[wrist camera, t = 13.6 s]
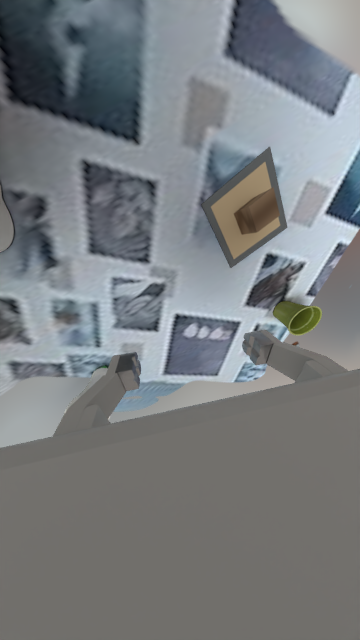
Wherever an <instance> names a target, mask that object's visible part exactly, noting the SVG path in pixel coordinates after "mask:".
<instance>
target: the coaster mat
mask: <svg viewBox="0 0 360 640" xmlns="http://www.w3.org/2000/svg"><path fill="white" fill-rule="evenodd" d="M273 187H274V192H275V196H276V200H277V205H278V209H279V213H280V216H279V217H277V218H276V219H275V220H273V221H272V222H271V223H269V224H268V225H266V226H265V227H264V228H262V229H261V230H260V231H258V232H256V233H250V234H243V235H242V234H241V232H240V229H239V226H238V224H237V221H236V218H235V216H234V213H235V212H236V211H237V210H239V209H240V208H241V207H242V206H244V205H245V204H246V203H247V202H249V201H250V200H251V199H252V198H254V197H256V196H258V195H259V194H261V193H263V192H265V191H267V190H269V189H271V188H273ZM201 205H202V208H203V210H204V212H205V214H206V216H207V218H208V220H209V223H210V225H211V227H212V229H213V231H214V233H215V235H216V238H217V240H218V242H219V244H220V246H221V248H222V250H223V252H224V255H225V257H226V259H227V261H228V263H229V265H230V267H233V266H234V265H236V264H237V263H238V262H240V261H241V260H243V259H244V258H245V257H247V256H248V255H250V254H251V253H252V252H254V251H255V250H257V249H258V248H259V247H261V246H262V245H264V244H265V243H266V242H268V241H269V240H271V239H272V238H273V237H275V236H276V235H278V234H279V233H280V232H282V231H283V230H285V229H286V228H287V224H286V219H285V215H284V210H283V205H282V200H281V196H280V191H279V186H278V182H277V177H276V172H275V168H274V163H273V158H272V153H271V149H270V147H269V148H267V149H266V150H265V151H264V152H263V153H262V154H260V155H259V156H258V157H257V158H256V159H254V160H253V161H252V162H251V163H250V164H249V165H247V166H246V167H245V168H244V169H243V170H241V171H240V172H239V173H238V174H237V175H236V176H234V177H233V178H232V179H231V180H230V181H228V182H227V183H226V184H225V185H224V186H223V187H221V188H220V189H219V190H218V191H217V192H215V193H214V194H213V195H212V196H211V197H210V198H208V199H207V200H206V201H205V202H204V203H202V204H201Z"/></svg>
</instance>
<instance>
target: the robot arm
mask: <svg viewBox="0 0 360 640" xmlns="http://www.w3.org/2000/svg"><path fill="white" fill-rule="evenodd" d="M13 235H14V229H13V223H12V219H11V216H10V214H9V212H8V209H7V207H6V205H5V203H4V201H3V199H2V193H1V186H0V252H2V251H4V250H5V249H7V248H8V247H9V246H10V244H11V242H12V240H13ZM244 339H245V340H244V341H243V344H242V347H243V350H244V352H245V353H246V354H247V355H249V356H250V359H251V361H252V362H253V363H254V364H255V365H260V364H266V363H267V365H269V366H271V367H273V368H275V369H276V370H278V371H279V372H281V373H283V374H284V375H286V376H288V377H290V378H291V379H293V380H295V383H293V384H289V385H284V386H279V387H275V388H271V389H266V390H261V391H257V392H253V393H248V394H243V395H239V396H234V397H230V398H225V399H221V400H217V401H212V402H207V403H202V404H199V405H193V406H189V407H184V408H180V409H175V410H171V411H166V412H162V413H157V414H153V415H148V416H143V417H140V418H135V419H130V420H125V421H121V422H116V423H112V424H111V423H110V422H109V421H108V418H109V417H110V415H111V414H112V412H113V411H114V409H115V408H116V406H117V405H118V403H119V402H120V400H121V399H122V397H123V396H124V394H125V393H126V391H130V390H134V389H139V384H140V378H139V375H140V374H141V366H140V361H139V360H137V358H138V355H137V353H136V352H133V353H126V354H121V355H114V356H113V357H112V359H111V362H110V365H109V367H108V370H107V373H106V375H103V376H102V377H101V378H100V379H99V380H98V381H97V382H96V383H95V384H94V385H93V386H91V387H90V388H89V389H88V390H87V391H86V392H85V393H84V394H83V395H82V396H81V397H80V398H79V399H78V400H76V401H75V402H74V403H73V404H72V405H71V406H70V407H69V408H68V409H67V410H66V412H65V414H64V416H63V418H62V420H61V422H60V424H59V426H58V427H57V429H56V431H55V433H54V435H53V437H48V438H44V439H39V440H34V441H30V442H26V443H21V444H16V445H12V446H7V447H3V448H0V640H360V369H357V370H352V371H347V370H346V369H345V368H343V367H342V366H340V365H338V364H337V363H336V362H334V361H333V360H331V359H330V358H328V357H326V356H323V355H320V354H317V353H314V352H312V351H309V350H306V349H303V348H300V347H297V346H294V345H291V344H288V343H285V342H281V341H280V340H278V339H277V338H276V337H274V336H273V335H272V334H270V333H269V332H268V331H267V330H260V331H255V332H250V333H245V335H244Z"/></svg>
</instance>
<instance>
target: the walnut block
mask: <svg viewBox="0 0 360 640" xmlns="http://www.w3.org/2000/svg"><path fill="white" fill-rule="evenodd" d="M234 216H235V218H236V221H237V224H238V226H239V229H240V232H241V234H242V235H243V234H250V233H256V232H258V231H260V230H261V229H262V228H264V227H265V226H266V225H268V224H269V223H271V222H272V221H273V220H275V219H276V218H277V217H279V216H280V213H279V209H278V205H277V200H276V196H275V192H274V187H273V188H271V189H269V190H267V191H265V192H263V193H261V194H259V195H258V196H256V197H254V198H252V199H251V200H250V201H249V202H247V203H246V204H245V205H244V206H242V207H241V208H240V209H239V210H237V211H236V212H235V213H234Z"/></svg>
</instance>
